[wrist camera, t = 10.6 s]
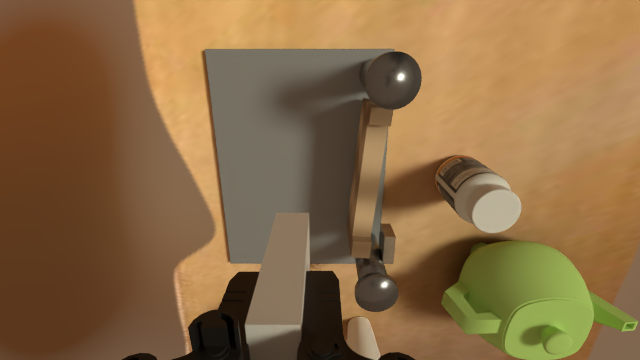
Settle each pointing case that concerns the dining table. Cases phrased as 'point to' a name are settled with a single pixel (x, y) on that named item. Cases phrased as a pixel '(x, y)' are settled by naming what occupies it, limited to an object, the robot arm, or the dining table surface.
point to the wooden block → (366, 176)
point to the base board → (288, 144)
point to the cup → (362, 338)
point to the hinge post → (391, 79)
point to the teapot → (527, 301)
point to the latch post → (377, 273)
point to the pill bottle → (478, 194)
